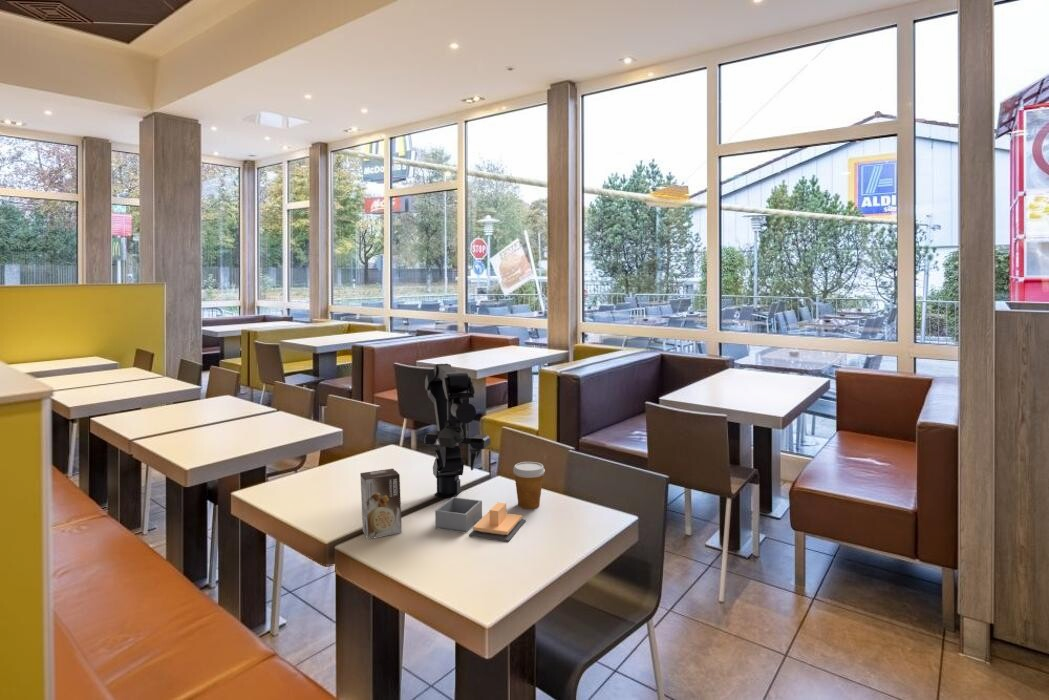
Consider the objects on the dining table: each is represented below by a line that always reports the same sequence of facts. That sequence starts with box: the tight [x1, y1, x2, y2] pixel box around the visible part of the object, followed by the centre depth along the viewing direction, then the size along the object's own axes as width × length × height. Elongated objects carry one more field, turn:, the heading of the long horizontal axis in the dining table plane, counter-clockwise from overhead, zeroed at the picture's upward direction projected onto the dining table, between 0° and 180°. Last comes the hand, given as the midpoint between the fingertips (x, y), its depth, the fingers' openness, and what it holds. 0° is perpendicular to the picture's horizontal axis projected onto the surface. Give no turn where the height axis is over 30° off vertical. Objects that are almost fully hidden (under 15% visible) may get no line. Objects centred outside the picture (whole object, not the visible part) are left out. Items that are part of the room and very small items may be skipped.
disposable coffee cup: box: [512, 461, 546, 510], centre depth 176 cm, size 10×10×12 cm
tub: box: [434, 496, 483, 534], centre depth 163 cm, size 9×11×5 cm
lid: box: [472, 501, 523, 535], centre depth 160 cm, size 10×12×6 cm
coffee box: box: [360, 468, 403, 539], centre depth 157 cm, size 9×6×16 cm
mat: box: [468, 518, 527, 543], centre depth 160 cm, size 11×14×1 cm
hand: (457, 468), depth 173 cm, fingers open, 9 cm apart
